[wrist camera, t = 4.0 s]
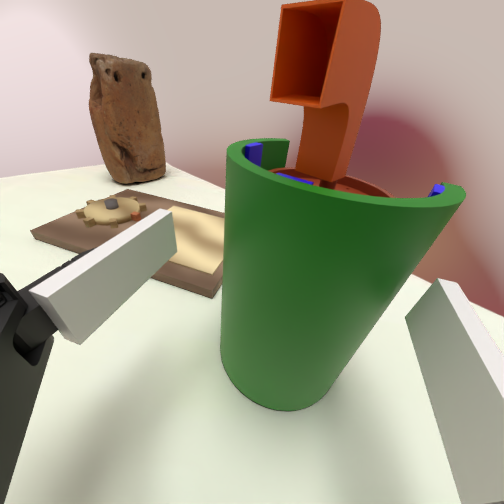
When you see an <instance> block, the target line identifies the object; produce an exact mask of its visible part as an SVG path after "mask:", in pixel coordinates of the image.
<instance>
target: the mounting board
mask: <svg viewBox="0 0 504 504" xmlns="http://www.w3.org/2000/svg"><path fill="white" fill-rule="evenodd" d="M158 209H164V210H168V211H172V215H173V223H174V230H175V237H176V244H177V251H178V252H176V253H175V254H174V255H173V256H172V257H171V258H170V259H169V260H168V261H167V262H166V263H165V264H164V265H163V266H162V267H161V268H160V269H159V270H158V271H157V272H156V273H155V274H154V275H153V276H152V277H150V278H153V279H156V280H159V281H162V282H165V283H168V284H171V285H174V286H177V287H180V288H183V289H186V290H189V291H191V292H194V293H197V294H200V295H203V296H206V297H209V298H213V297H214V295H215V294H216V292H217V291H218V289H219V288H220V286H221V284H222V280H223V249H224V219H225V213H222V212H218V211H214V210H210V209H206V208H202V207H198V206H194V205H190V204H186V203H182V202H178V201H174V200H170V199H166V198H162V197H158V196H154V195H150V194H146V193H142V192H137V191H133V190H129V189H126V190H124V191H122V192H119V193H117V194H115V195H110V197H108V198H105V199H101V200H98V201H94V200H89V201H87V206H86V207H84V208H82V209H78V210H76V211H75V212H73V213H70V214H68V215H66V216H63V217H61V218H59V219H56V220H54V221H51V222H49V223H47V224H44V225H42V226H40V227H37V228H35V229H33V230H30V231H31V233H32V235H33V236H34V238H35V239H37V240H40V241H43V242H46V243H49V244H52V245H55V246H58V247H61V248H64V249H67V250H70V251H73V252H76V253H79V254H80V253H82V252H84V251H87V250H90V249H92V248H95V247H99V246H101V245H102V244H104V243H105V242H107V241H109V240H110V239H112V238H113V237H115V236H117V235H118V234H120V233H121V232H123V231H125V230H126V229H128V228H129V227H131V226H133V225H134V224H136V223H137V222H139V221H141V220H142V219H144V218H145V217H147V216H149V215H150V214H152V213H153V212H155V211H157V210H158Z"/></svg>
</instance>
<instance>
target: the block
mask: <svg viewBox="0 0 504 504" xmlns="http://www.w3.org/2000/svg"><path fill="white" fill-rule="evenodd" d="M89 57H90V59H89V62H90V64H91V67H92V70H93V79H92V82H91V86H90V99H89V110H90V115H91V120H92V124H93V127H94V130H95V134H96V138H97V141H98V145H99V148H100V151H101V154H102V157H103V160H104V162H105V165H106V167H107V169H108V171H109V173H110V174H111V176H112V177H113V179H114V180H115V181H117V182H119V183H126V184H127V183H134V182H144V181H149V180H154V179H157V178H159V177H161V176H163V175H164V174H165V172H166V163H165V151H164V143H163V138H162V135H161V125H160V119H159V112H158V108H157V101H156V96H155V92H154V89H153V87H152V85H151V71H150V69H149V67H148V66H147V65H146V64H145V63H143V62H139V61H135V60H132V59H127V58H119V57H117V56H112V55H105V54H98V53H97V54H96V53H91V54H90V56H89Z"/></svg>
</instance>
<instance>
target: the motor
mask: <svg viewBox="0 0 504 504" xmlns="http://www.w3.org/2000/svg"><path fill="white" fill-rule="evenodd" d="M380 32H381V20H380V15H379V12H378V9H377V8H376V7H375V6H374V5H373V4H372V3H370V2H367V1H365V0H314V1H307V2H298V3H292V4H284V5H282V6H281V14H280V22H279V30H278V39H277V46H276V54H275V62H274V70H273V78H272V86H271V94H270V101H273V102H280V103H287V104H293V105H300V106H304V121H303V129H302V135H301V141H300V146H299V152H298V158H297V162H296V167H291V168H290V167H289V168H288V167H287V168H285V164H286V158H287V153H288V148H289V142H290V141H289V140H286V139H275V138H274V139H273V138H268V139H267V138H266V139H265V138H264V139H250V140H243V141H239V142H236V143H233V144H231V145H230V146H229V147H228V148H227V159H226V188H225V219H224V249H223V280H222V310H221V341H220V351H221V358H222V362H223V365H224V368H225V370H226V372H227V374H228V376H229V378H230V379H231V381H232V382H233V384H234V385H235V386H236V387H237V388H238V389H239V391H241V392H242V393H243V394H244V395H245V396H246V397H248V398H249V399H251V400H252V401H254V402H255V403H257V404H259V405H261V406H264V407H267V408H270V409H274V410H280V411H294V410H300V409H303V408H306V407H309V406H311V405H313V404H314V403H316V402H317V401H319V400H320V399H321V398H322V397H323V396H324V395H325V394H326V393H327V391H328V390H329V388H330V387H331V386H332V384H333V383H334V381H335V380H336V379H337V377H338V376H339V374H340V373H341V372H342V370H343V369H344V367H345V366H346V365H347V363H348V362H349V360H350V359H351V358H352V356H353V355H354V353H355V352H356V351H357V349H358V348H359V346H360V345H361V344H362V342H363V341H364V339H365V338H366V337H367V335H368V334H369V332H370V331H371V330H372V328H373V327H374V325H375V324H376V322H377V321H378V320H379V318H380V317H381V315H382V314H383V313H384V311H385V310H386V308H387V307H388V306H389V304H390V303H391V301H392V300H393V299H394V297H395V296H396V294H397V293H398V292H399V290H400V289H401V287H402V286H403V285H404V283H405V282H406V280H407V279H408V278H409V276H410V275H411V273H412V272H413V271H414V269H415V268H416V266H417V265H418V264H419V262H420V261H421V259H422V258H423V257H424V255H425V254H426V252H427V251H428V250H429V248H430V247H431V245H432V244H433V242H434V241H435V240H436V238H437V237H438V235H439V234H440V233H441V231H442V230H443V228H444V227H445V225H446V224H447V223H448V221H449V220H450V219H451V217H452V216H453V214H454V213H455V212H456V210H457V209H458V207H459V206H460V205H461V203H462V202H463V200H464V199H465V197H466V193H465V191H464V189H463V188H462V187H461V186H457V185H452V184H448V183H443V182H442V183H441V185H438V184H435V185H434V187H433V189H432V190H431V192H430V194H429V196H428V197H426V198H396V197H394V196H393V195H392V194H390V193H389V192H387V191H386V190H384V189H382V188H380V187H378V186H376V185H374V184H371V183H369V182H366V181H363V180H361V179H358V178H355V177H351V176H348V175H346V171H347V168H348V165H349V161H350V158H351V154H352V151H353V148H354V144H355V141H356V137H357V134H358V131H359V127H360V124H361V120H362V116H363V113H364V109H365V105H366V102H367V98H368V94H369V90H370V87H371V82H372V78H373V73H374V70H375V64H376V60H377V54H378V49H379V42H380Z"/></svg>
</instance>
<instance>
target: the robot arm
mask: <svg viewBox="0 0 504 504" xmlns="http://www.w3.org/2000/svg"><path fill="white" fill-rule="evenodd" d="M176 252H178V251H177V244H176V237H175V230H174V223H173V215H172V211H168V210H164V209H158V210H157V211H155V212H153V213H152V214H150V215H149V216H147V217H145V218H144V219H142V220H141V221H139V222H137V223H136V224H134V225H133V226H131V227H129V228H128V229H126V230H125V231H123V232H121V233H120V234H118V235H117V236H115V237H113V238H112V239H110V240H109V241H107V242H105V243H104V244H102V245H101V246H99V247H95V248H92V249H90V250H87V251H84V252H82V253H80V254H79V255H77V256H75V257H74V258H72V259H71V261H67V262H66V263H64V264H62V266H61V267H60V266H59V267H57V268H56V269H54V270H52V271H51V272H49V273H47V274H46V275H44V276H42V277H41V278H39V279H38V280H36V281H34V282H33V283H31V284H29V285H28V286H26V287H24V288H23V289H21V290H19V291H16V289H15V288H14V287H13V286H12V284H11V283H10V282H9V281H8V279H7V278H6V277H5V276H4V275H3V274H2V273H0V504H4V502H5V498H6V495H7V492H8V489H9V485H10V482H11V479H12V476H13V472H14V469H15V466H16V463H17V459H18V456H19V453H20V450H21V446H22V443H23V440H24V437H25V433H26V430H27V427H28V424H29V420H30V417H31V414H32V411H33V407H34V404H35V401H36V398H37V394H38V391H39V388H40V385H41V381H42V378H43V375H44V372H45V368H46V365H47V362H48V359H49V355H50V352H51V349H52V346H53V342H54V337H53V336H52V334H54V333H55V332H56V331H57V330H59V332H60V333H61V334H62V336H63V337H64V338H65V339H67V340H69V341H72V342H74V343H76V344H79V345H81V344H82V343H83V342H84V341H85V340H86V339H87V338H88V337H89V336H90V335H91V334H92V333H93V332H94V331H95V330H96V329H97V328H98V327H100V326H101V325H102V324H103V323H104V322H105V321H106V320H107V319H108V318H109V317H110V316H111V315H112V314H113V313H114V312H115V311H116V310H117V309H118V308H119V307H120V306H121V305H122V304H123V303H124V302H126V301H127V300H128V299H129V298H130V297H131V296H132V295H133V294H134V293H135V292H136V291H137V290H138V289H139V288H140V287H141V286H142V285H143V284H144V283H145V282H146V281H147V280H148V279H149V278H150V277H152V276H153V275H154V274H155V273H156V272H157V271H158V270H159V269H160V268H161V267H162V266H163V265H164V264H165V263H166V262H167V261H168V260H169V259H170V258H171V257H172V256H173V255H174V254H175V253H176ZM405 319H406V323H407V326H408V329H409V333H410V336H411V339H412V343H413V346H414V349H415V352H416V356H417V359H418V362H419V366H420V369H421V372H422V375H423V379H424V382H425V385H426V389H427V392H428V395H429V399H430V402H431V405H432V408H433V412H434V415H435V418H436V422H437V425H438V428H439V431H440V435H441V438H442V441H443V445H444V448H445V451H446V455H447V458H448V461H449V464H450V468H451V471H452V474H453V478H454V481H455V484H456V488H457V491H458V494H459V497H460V501H461V504H504V355H503V354H502V352H501V351H500V349H499V347H498V346H497V344H496V343H495V341H494V340H493V338H492V337H491V335H490V333H489V332H488V330H487V329H486V327H485V326H484V324H483V322H482V321H481V319H480V318H479V316H478V315H477V313H476V312H475V310H474V308H473V307H472V305H471V304H470V302H469V301H468V299H467V298H466V296H465V294H464V293H463V291H462V290H461V288H460V287H459V285H458V284H457V283H455V282H451V281H447V280H443V279H439V278H437V279H436V281H435V282H434V283H433V284H432V285H431V286H430V288H429V289H428V290H427V291H426V292H425V294H424V295H423V296H422V297H421V298H420V300H419V301H418V302H417V303H416V304H415V306H414V307H413V308H412V309H411V310H410V312H409V313H408V314H407V315H406V316H405Z"/></svg>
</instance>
